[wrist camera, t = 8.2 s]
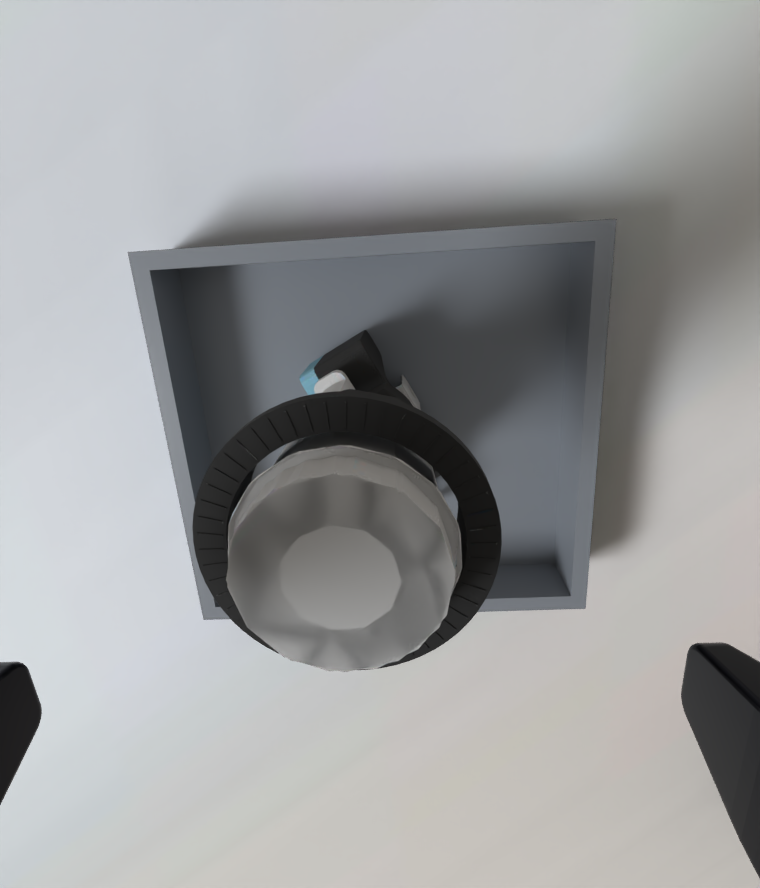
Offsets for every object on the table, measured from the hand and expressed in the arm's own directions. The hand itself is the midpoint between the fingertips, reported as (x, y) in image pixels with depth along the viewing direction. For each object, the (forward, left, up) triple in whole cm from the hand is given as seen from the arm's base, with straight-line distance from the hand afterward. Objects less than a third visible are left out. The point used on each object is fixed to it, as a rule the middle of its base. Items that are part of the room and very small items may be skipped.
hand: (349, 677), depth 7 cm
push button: (0, 0, -12) cm, 12 cm away
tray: (0, 0, -12) cm, 12 cm away
